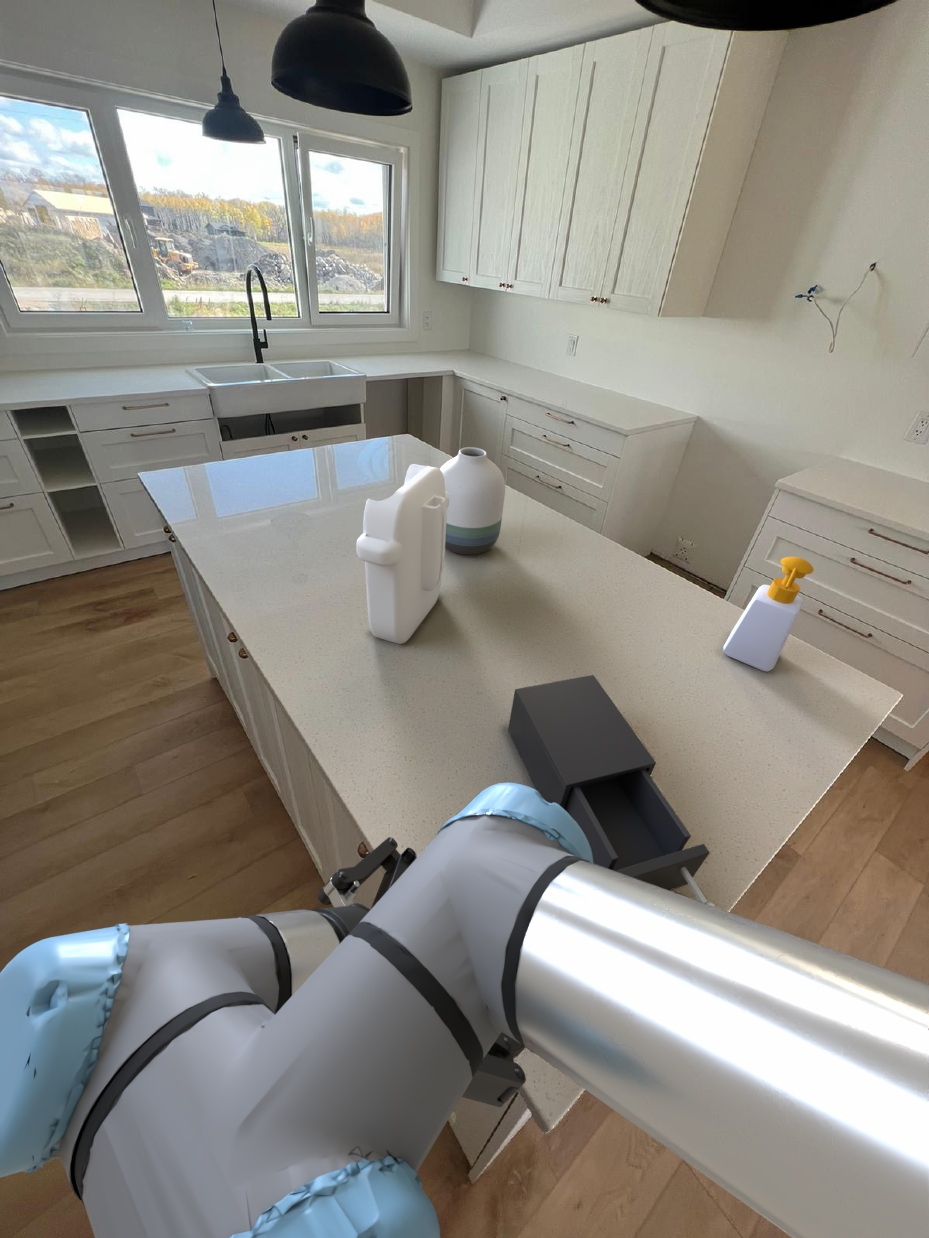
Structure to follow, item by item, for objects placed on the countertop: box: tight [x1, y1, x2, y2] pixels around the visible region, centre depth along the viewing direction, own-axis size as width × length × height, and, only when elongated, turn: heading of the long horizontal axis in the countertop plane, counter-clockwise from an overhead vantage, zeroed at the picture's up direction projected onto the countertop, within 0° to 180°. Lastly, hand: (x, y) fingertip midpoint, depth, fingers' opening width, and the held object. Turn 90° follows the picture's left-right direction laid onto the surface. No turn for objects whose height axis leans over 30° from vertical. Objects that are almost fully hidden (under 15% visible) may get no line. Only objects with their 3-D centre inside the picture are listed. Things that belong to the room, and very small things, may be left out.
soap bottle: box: [722, 556, 815, 672], centre depth 97 cm, size 10×14×22 cm
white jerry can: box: [355, 463, 449, 645], centre depth 98 cm, size 27×11×30 cm, turn 160°
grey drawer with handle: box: [564, 769, 717, 908], centre depth 65 cm, size 22×12×8 cm, turn 18°
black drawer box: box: [507, 674, 657, 809], centre depth 77 cm, size 18×14×10 cm
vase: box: [439, 446, 506, 555], centre depth 125 cm, size 17×17×24 cm
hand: (487, 939), depth 47 cm, fingers open, 13 cm apart
